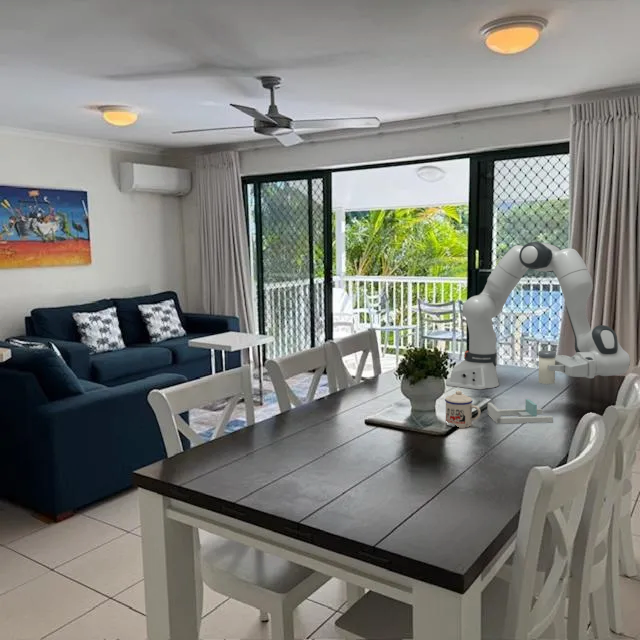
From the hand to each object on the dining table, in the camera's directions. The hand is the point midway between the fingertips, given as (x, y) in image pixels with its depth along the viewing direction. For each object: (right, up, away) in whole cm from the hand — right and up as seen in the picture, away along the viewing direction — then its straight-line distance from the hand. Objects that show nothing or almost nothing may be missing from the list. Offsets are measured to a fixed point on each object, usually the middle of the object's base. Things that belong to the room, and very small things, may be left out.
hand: (544, 365), depth 216 cm
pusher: (-8, -18, -4) cm, 20 cm away
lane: (-10, -18, -4) cm, 21 cm away
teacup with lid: (-32, -20, -11) cm, 39 cm away
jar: (+1, -6, +1) cm, 6 cm away
